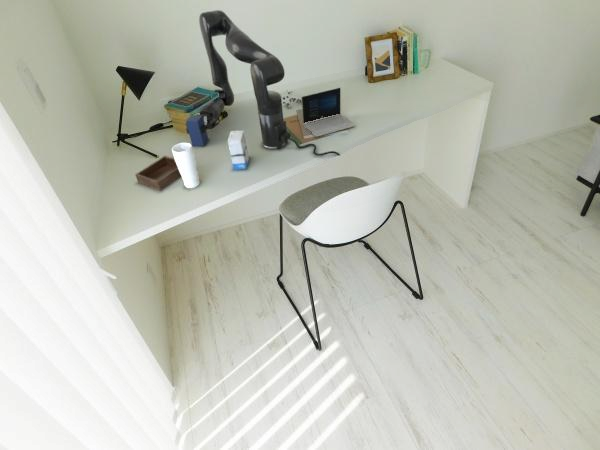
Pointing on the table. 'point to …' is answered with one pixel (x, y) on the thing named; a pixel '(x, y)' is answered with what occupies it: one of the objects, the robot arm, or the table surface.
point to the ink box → (238, 149)
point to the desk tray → (159, 173)
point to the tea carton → (196, 130)
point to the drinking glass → (186, 164)
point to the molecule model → (290, 99)
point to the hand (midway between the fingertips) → (194, 131)
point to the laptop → (323, 112)
